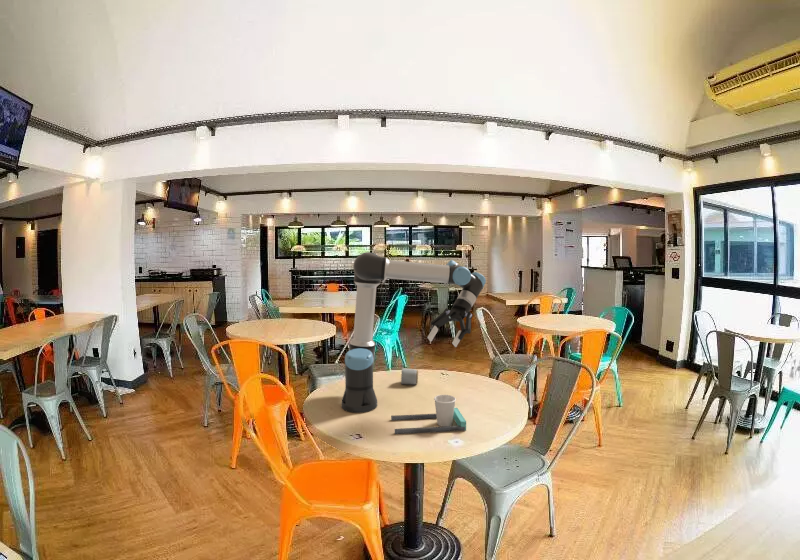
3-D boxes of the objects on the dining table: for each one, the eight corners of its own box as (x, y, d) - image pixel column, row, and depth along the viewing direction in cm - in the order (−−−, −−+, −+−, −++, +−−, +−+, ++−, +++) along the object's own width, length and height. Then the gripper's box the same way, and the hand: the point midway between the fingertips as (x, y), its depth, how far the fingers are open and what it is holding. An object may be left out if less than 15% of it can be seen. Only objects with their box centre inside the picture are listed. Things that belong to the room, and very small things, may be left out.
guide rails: (394, 434, 159) (394, 430, 159) (391, 419, 172) (391, 415, 172) (464, 430, 162) (464, 426, 162) (455, 416, 175) (456, 412, 175)
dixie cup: (441, 417, 174) (441, 393, 173) (459, 423, 169) (460, 397, 168) (429, 424, 167) (429, 398, 167) (447, 430, 162) (448, 404, 161)
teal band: (460, 430, 162) (460, 421, 161) (452, 416, 175) (452, 407, 175) (466, 430, 162) (466, 421, 162) (457, 416, 175) (457, 407, 175)
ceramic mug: (417, 386, 211) (418, 370, 210) (400, 386, 211) (401, 370, 211) (418, 380, 221) (418, 365, 221) (402, 379, 222) (402, 364, 221)
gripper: (491, 311, 185) (469, 353, 176) (446, 305, 203) (423, 342, 194) (484, 300, 181) (461, 342, 172) (438, 295, 199) (415, 332, 190)
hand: (441, 342), depth 183 cm, fingers open, 13 cm apart
